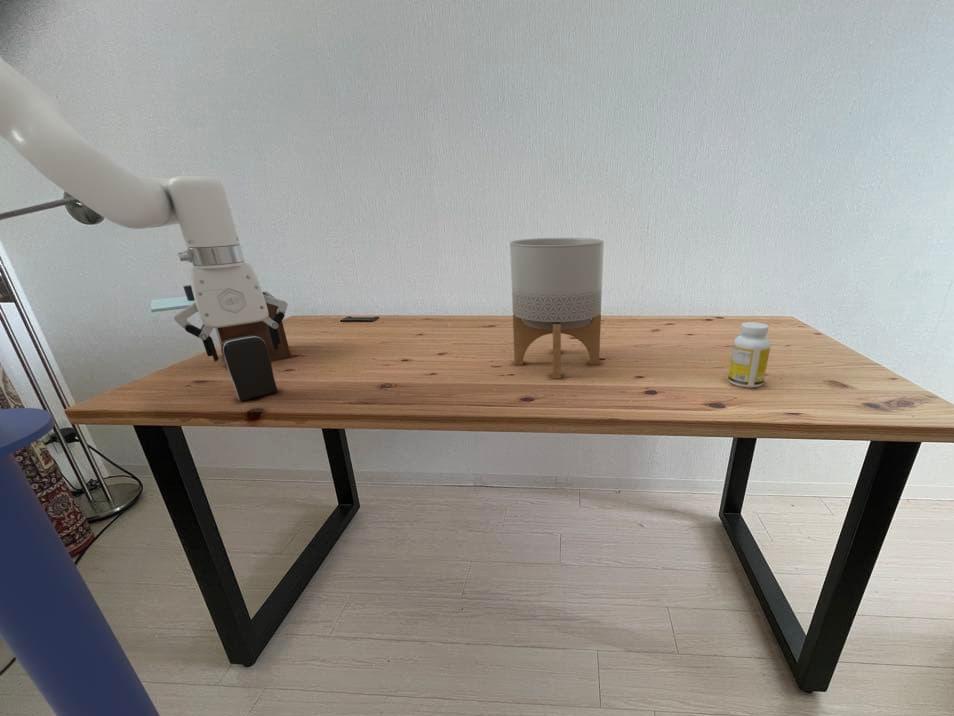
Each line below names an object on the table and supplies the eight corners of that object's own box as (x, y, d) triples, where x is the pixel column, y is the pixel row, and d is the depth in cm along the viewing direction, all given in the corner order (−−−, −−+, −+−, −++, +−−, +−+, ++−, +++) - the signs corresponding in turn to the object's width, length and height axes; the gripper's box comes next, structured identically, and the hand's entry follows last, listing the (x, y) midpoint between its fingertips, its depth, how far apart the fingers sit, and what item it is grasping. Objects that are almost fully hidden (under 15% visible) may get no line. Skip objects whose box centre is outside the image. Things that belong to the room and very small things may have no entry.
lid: (152, 312, 91) (145, 294, 89) (152, 302, 100) (146, 286, 99) (225, 303, 98) (220, 286, 96) (219, 295, 107) (215, 279, 106)
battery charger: (273, 387, 91) (258, 331, 86) (280, 392, 89) (264, 335, 84) (234, 397, 87) (215, 339, 82) (239, 403, 84) (221, 343, 80)
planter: (595, 350, 110) (599, 237, 100) (602, 378, 93) (608, 244, 83) (518, 351, 111) (513, 238, 100) (511, 378, 94) (505, 246, 83)
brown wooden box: (229, 368, 102) (210, 306, 96) (223, 355, 111) (205, 297, 106) (291, 357, 109) (276, 298, 103) (280, 345, 118) (266, 291, 113)
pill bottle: (763, 379, 91) (774, 322, 87) (762, 391, 86) (774, 330, 81) (729, 375, 94) (738, 319, 89) (725, 385, 89) (735, 327, 84)
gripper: (153, 264, 70) (191, 369, 77) (278, 254, 79) (301, 348, 86) (153, 260, 75) (189, 358, 82) (270, 251, 85) (293, 340, 92)
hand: (246, 353), depth 84 cm, fingers open, 9 cm apart
